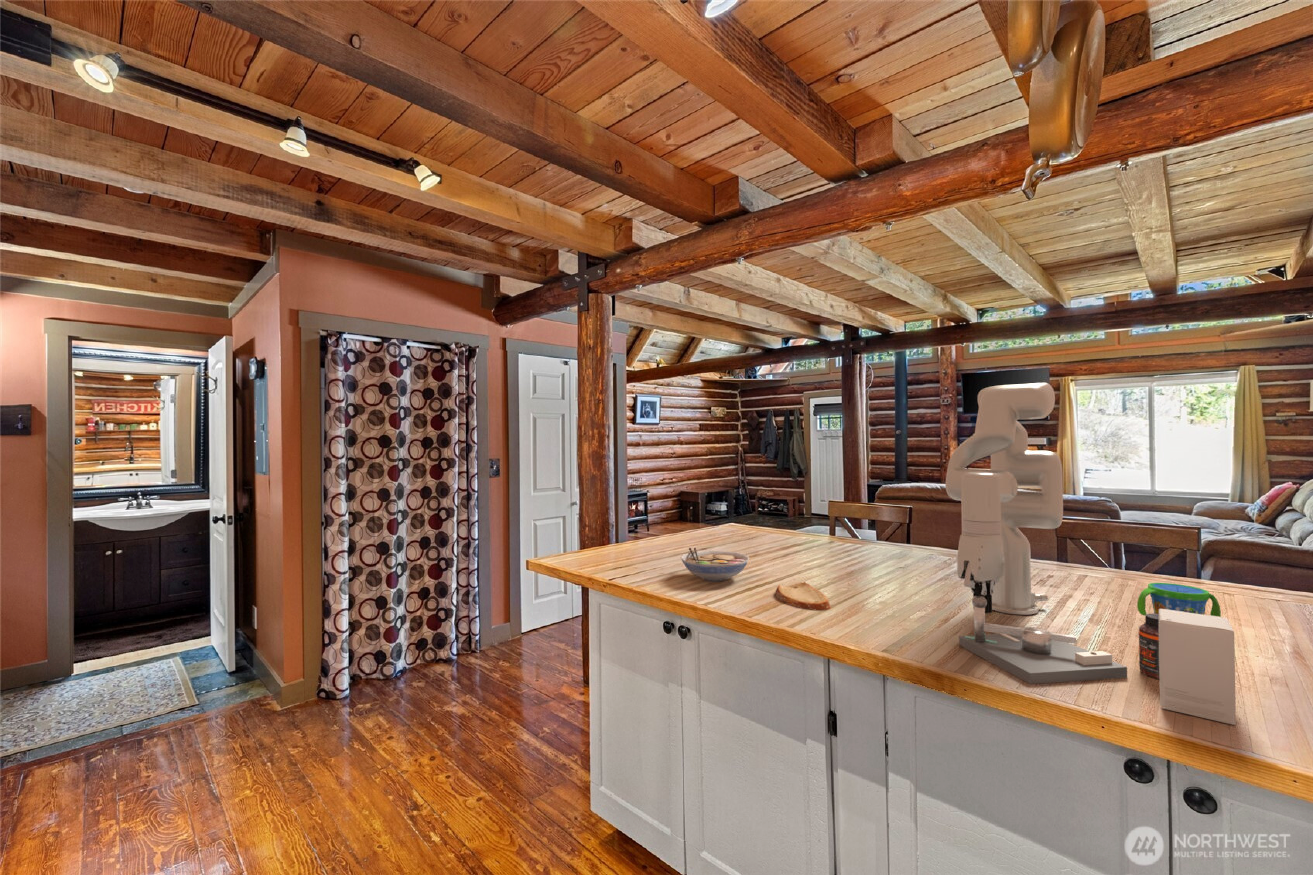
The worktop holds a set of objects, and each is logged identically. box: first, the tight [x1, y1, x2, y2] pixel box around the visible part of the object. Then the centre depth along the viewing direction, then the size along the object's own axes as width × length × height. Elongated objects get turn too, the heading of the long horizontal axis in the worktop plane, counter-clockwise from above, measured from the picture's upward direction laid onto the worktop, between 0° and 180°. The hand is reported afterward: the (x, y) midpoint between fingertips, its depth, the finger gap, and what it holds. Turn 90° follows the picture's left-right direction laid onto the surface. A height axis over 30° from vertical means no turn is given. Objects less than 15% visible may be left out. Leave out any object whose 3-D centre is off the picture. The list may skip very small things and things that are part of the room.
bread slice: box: [774, 581, 832, 611], centre depth 160 cm, size 18×18×4 cm
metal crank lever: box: [971, 595, 1077, 654], centre depth 115 cm, size 18×5×10 cm, turn 58°
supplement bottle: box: [1138, 612, 1159, 680], centre depth 105 cm, size 6×6×11 cm
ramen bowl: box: [680, 547, 750, 583], centre depth 184 cm, size 25×23×8 cm
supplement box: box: [1158, 609, 1237, 726], centre depth 93 cm, size 9×9×15 cm
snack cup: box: [1136, 582, 1222, 617], centre depth 130 cm, size 16×10×10 cm
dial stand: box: [958, 633, 1128, 685], centre depth 113 cm, size 20×20×4 cm
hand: (982, 611), depth 122 cm, fingers closed
